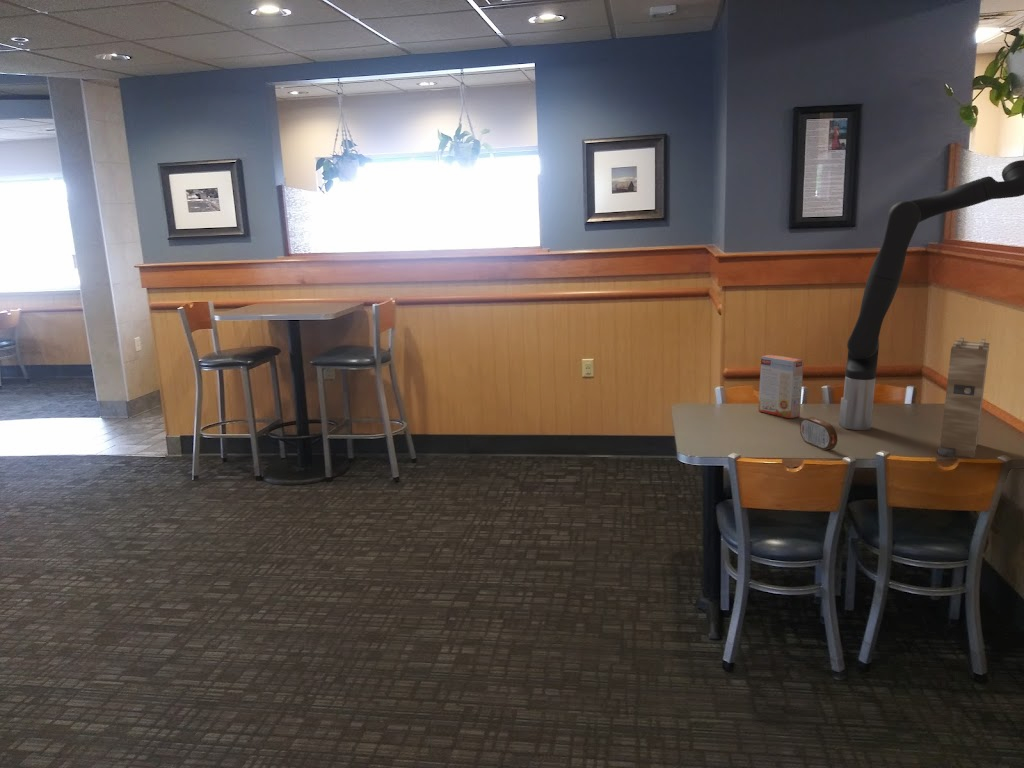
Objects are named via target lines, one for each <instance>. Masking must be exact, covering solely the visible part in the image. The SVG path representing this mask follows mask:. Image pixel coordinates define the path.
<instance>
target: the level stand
mask: <svg viewBox="0 0 1024 768" xmlns="http://www.w3.org/2000/svg"><path fill="white" fill-rule="evenodd" d="M989 351H990V342H986V338H981V339H980V342H979V341H966V340H965V337H964V336H960V337H959V339H958V340H954V343H953V344H952V346H951V348H950V356H949V364H948V366H949V367H948V373H947V383H946V390H945V391H946V392H945V393H946V394H945V398H944V399H945V400H944V408H943V409H944V410H943V416H942V417H943V418H942V425H941V426H942V427H941V435H940V436H941V437H940V445H939V446H938V451H937V454H938V455H939V456H942V457H946V458H952V457H955V456H958V457H959V456H960V457H966V456H967V458H973V457H975V455H976V451H977V447H976V446H978V440H979V432H980V423H981V417H982V406H983V399H984V393H985V392H984V390H985V382H986V375H987V366H988V358H989ZM975 450H976V451H975ZM968 456H969V457H968Z"/></svg>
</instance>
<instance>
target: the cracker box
mask: <svg viewBox="0 0 1024 768" xmlns="http://www.w3.org/2000/svg"><path fill="white" fill-rule="evenodd" d="M760 359H761V361H760V372H759V373H760V376H759V392H758V406H757V407H758V409H757V412H760V413H765V414H769V415H773V416H778V417H781V418H786V419H793V418H799V417H800V415H801V403H802V391H803V390H802V389H803V388H802V387H803V375H804V374H803V373H804V362H805V361H804V359H800V358H795V357H789V356H783V355H776V354H765V355H761V358H760Z"/></svg>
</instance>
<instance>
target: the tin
mask: <svg viewBox="0 0 1024 768" xmlns="http://www.w3.org/2000/svg"><path fill="white" fill-rule="evenodd" d="M799 431H800V432H799V433H800V435H801V438H802V439H803V441H804V442H805V443H807V444H808V445H810V446H811V445H812V446H814V447H816V448H818V449H821V450H823V451H826V450H833V449H835V448H836V446H837V444H838V433H837V430H836V428H835V427H834V425H833V424H832V423H830V422H829V421H828V422H827V421H825V420H822V419H819V418H817V417H815V416H809V417H805V418H803V419H802V420H801V421H800V427H799Z"/></svg>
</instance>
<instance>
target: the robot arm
mask: <svg viewBox="0 0 1024 768" xmlns="http://www.w3.org/2000/svg"><path fill="white" fill-rule="evenodd" d="M1001 176H1002V177H1001V178H1002V179H1003V180H1002V181H997V180H995V178H994V177H993V176H990V175H989V176H985V177H981V178H978V179H975V180H973V181H969V182H966V183H964V184H961V185H958V186H956V187H955V186H954V187H952V188H950V189H948V190H944V191H942V192H939V193H937V194H933V195H930V196H927V197H922V198H918V199H913V200H901V201H898V202H896V203H894V204H893V205H892V206H891V207H890V208H889V209H888V212H887V217H886V218H887V224H886V230H885V233H884V238H883V242H882V245H881V246H880V249H879V251H878V252H877V255H876V256H875V259H874V261H873V264H872V265H871V268H870V270H869V274H868V277H867V279H866V284H865V287H864V291H863V294H862V300H861V305H860V310H859V314H858V318H857V320H856V323H855V325H854V327H853V330H852V332H851V334H850V336H849V338H848V339H847V343H846V347H847V358H846V359H847V361H846V367H845V373H844V374H845V376H844V387H843V396H842V397H841V398H840V409H839V421H838V425H840V426H841V427H842V428H843V429H845V430H855V431H867V430H870V429H872V418H873V407H874V399H875V397H874V396H875V386H876V385H875V384H876V374H877V367H878V358H879V350H880V349H879V347H880V340H879V339H880V333H881V328H882V324H883V322H884V319H885V317H886V314H887V312H888V310H889V309H890V306H891V305H892V302H893V301H894V298H895V295H896V293H897V290H898V286H899V283H900V280H901V276H902V274H903V270H904V266H905V261H906V256H907V251H908V248H909V246H910V242H911V240H912V238H913V236H914V233H915V232H916V229H917V227H918V226H919V224H920V223H922V222H923V221H925V220H927V219H930V218H933V217H935V216H938V215H941V214H945V213H948V212H953V211H957V210H961V209H965V208H968V207H971V206H975V205H978V204H981V203H984V202H988V201H991V200H999V199H1006V198H1007V199H1008V198H1009V199H1010V198H1017V197H1021V196H1024V159H1022V160H1021V159H1020V160H1016V161H1013V162H1010V163H1008V164H1007V165H1005V166H1004V168H1003V169H1002V171H1001Z"/></svg>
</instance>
